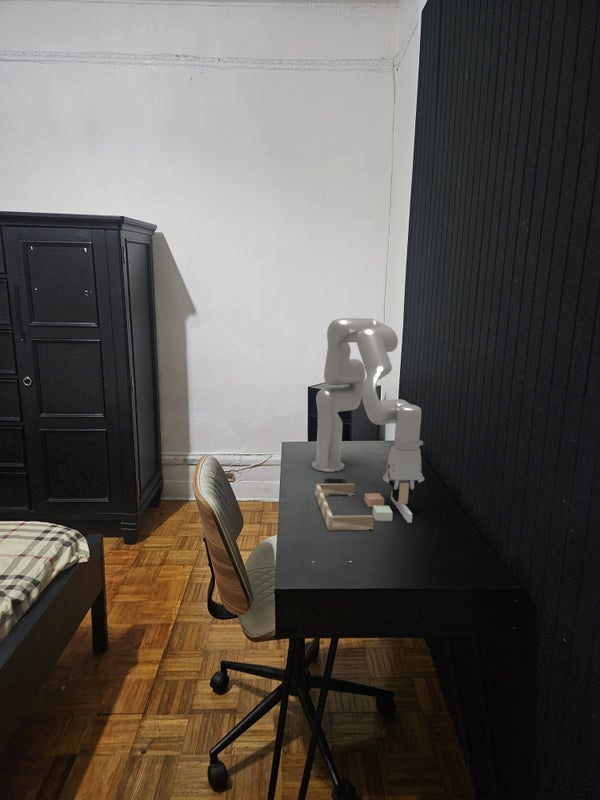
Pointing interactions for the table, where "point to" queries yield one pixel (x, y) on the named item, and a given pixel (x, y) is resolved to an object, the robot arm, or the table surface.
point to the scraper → (403, 500)
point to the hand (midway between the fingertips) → (401, 499)
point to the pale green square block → (382, 513)
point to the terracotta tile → (374, 499)
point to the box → (341, 521)
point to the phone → (335, 481)
